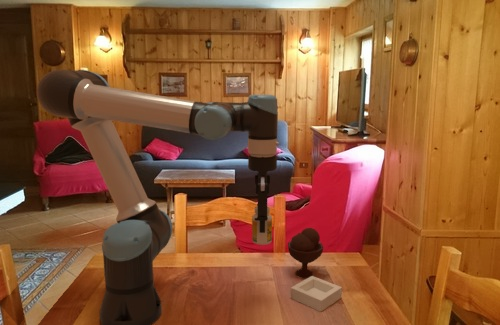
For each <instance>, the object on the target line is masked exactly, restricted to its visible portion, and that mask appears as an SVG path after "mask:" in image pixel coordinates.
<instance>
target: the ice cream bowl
mask: <svg viewBox="0 0 500 325" xmlns="http://www.w3.org/2000/svg"><path fill="white" fill-rule="evenodd" d="M320 238H321V237H320V233H319V232H318V231H317V230H316V229H315V228H312V227H306V228H304V229H303V230H302V231H301V232H298V233H297V234H295V235H294V236H293V237H291V240H290V241H289V242H287V248H288V252H289V255H290V256H291V257H292V258H293V259H294V260H295V261H297V262H298V263H301V268H299V269H298V270H296V272H295V276H297V277H298V278H301V279H307V278H309V277H311V276H314V274H313V272H314V271H312V270H310V269H309V268H308V265H309V263H310V264H311V263H312V262H315V261H316V260H317V259H319V258H320V257H321V256H322V254H323V252H324V245H323V244H322V243H321V241H320V240H321V239H320Z"/></svg>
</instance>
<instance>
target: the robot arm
mask: <svg viewBox="0 0 500 325" xmlns="http://www.w3.org/2000/svg"><path fill="white" fill-rule="evenodd" d="M36 96H37V97H36V98H37V100H38V103H39V105H40V106H41V108H42V109H43V110H44V111H45V112H47V113H48V114H51V115H52V116H55V117H58V118H67V119H68V122H69V124H70V126H71V128H73V129H75V130H77V131H79V132H80V133H81V135H82V137H83V140H84V141H85V144H86V145H87V147H88V150H89V152H90V154H91V157H92V159H93V161H94V163H95V165H96V167H97V168H98V171H99V173H100V176H101V177H102V179H103V182H104V183H105V185H106V188H107V191H108V193H109V194H110V196H111V199H112V201H113V202H114V205H115V207H116V209H117V212H118V213H117V216H116V218H115V220H116V222H115V223H114V224H112V225H110V226H109V227H107V228H106V229H105V231H104V232H103V235H102V244H101V250H102V258H103V271H104V286H105V291H104V294H103V297H102V301H101V305H100V309H99V322H100V324H101V325H152V324H154V323H155V322H156V321H157V320H159V318H160V317H161V315H162V311H163V310H162V308H163V307H162V301H161V299H160V296H159V293H158V291H157V288H156V286H155V283H154V267H153V266H154V261H155V259H156V258H157V256H159V254H160V253H161V252H162V250H163V249H165V248H166V247H167V245H168V243H169V241H170V239H171V237H172V234H173V224H172V221H171V218H170V217H169V215H168V213H166V211H164V210H161V209H160V208H159V206H158V204H157V202H156V200H153V199H151V198H149V197H148V196H147V193H146V191H145V188H144V187H143V185H142V182H141V181H140V179H139V176H138V174H137V171H136V169H135V167H134V165H133V162H132V161H131V158H130V156H129V154H128V152H127V150H126V148H125V146H124V143H123V141H122V139H121V138H120V135H119V133H118V131H117V129H116V126H115V124H114V122H121V123H125V124H132V125H139V126H145V127H150V128H157V129H162V130H163V129H164V130H168V131H175V132H180V133H187V134H191V135H196V136H200V137H202V138H204V139H205V140H212V141H215V140H220V139H222V138H224V137H225V136H226V135H227V134H228V133H229V132H230V133H231V132H239V133H240V132H242V133H243V132H247V133H248V137H247V153H248V154H249V155H248V156H247V159H248V160H247V164H248V165H247V167H248V169H249V170H250V171H253V172H257V174H255V175H254V184H255V194H256V195H257V203H256V207H257V206H258V217H257V218H255V221H257V244H256V245H258V244H266V245H268V244H267V219H268V217H267V207H268V195H269V194H270V183H271V175H269V174H268V172H273V171H276V170H277V167H278V156H277V155H276V154H277V151H278V146H280V142H279V141H278V124H279V123H278V122H279V121H278V120H279V119H278V118H279V117H278V116H279V111H278V110H279V109H278V98H277V97H276V96H275V94H274V95H273V94H250V95H249V96H248V99H247V102H246V101H245V102H227V101H225V102H223V101H220V102H219V101H212V102H211V101H210V102H209V101H208V102H201V101H196V100H195V101H193V100H189V99H183V98H176V97H170V96H164V95H158V94H153V93H145V92H141V91H136V90H135V91H133V90H129V89H123V88H119V87H117V88H116V87H112V86H111V87H110V84H109V83H108V82H107V81H106V78H104V77H103V76H101V75H100V74H99V73H96V72H92V71H90V70H85V69H77V70H75V69H53V70H51V71H49V72H47V73H46V74H45V75H43V76H42V77H41V79H40V80H39V81H38V84H37V87H36ZM113 121H114V122H113Z"/></svg>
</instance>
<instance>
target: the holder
mask: <svg viewBox="0 0 500 325" xmlns="http://www.w3.org/2000/svg"><path fill="white" fill-rule="evenodd" d="M342 290H343V287H342V286H340V285H338V284H337V285H336V284H334V283H332V282H330V281H327V280H324V279H321V278H318V277H316V276H314V275H313V276H311V277H309V278H304V280H302V281H300V282H298V283H296V284H295V285H293V286H291V287H290V299H292V300H294V301H296V302H299V303H300V304H303V305H305V306H308V307H309V308H312V309H314V310H317V311H318V312H322V311H324V310H326V309H328V307H330V306H332V305H333V304H334V303H336V302H338V301H339V300H340V299H341V298H342V294H343V293H342Z"/></svg>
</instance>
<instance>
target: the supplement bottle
mask: <svg viewBox="0 0 500 325" xmlns="http://www.w3.org/2000/svg"><path fill="white" fill-rule="evenodd" d="M253 211H254V214H253V215H252V218H251V222H252V223H251V227H252V229H251V231H252V232H251V234H252V236H251V238H252V239H251V240H252V243H253V244H256V245H259V246H264V245H265V246H266V245H269V244H271V243H272V241H273V217H272V215H271V214H270V211H271V210H270V207H269V206H267V217H268V219H267V244H257V221H255V218H257V217H258V206H257V205H256V206H255V207H254V210H253Z"/></svg>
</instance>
